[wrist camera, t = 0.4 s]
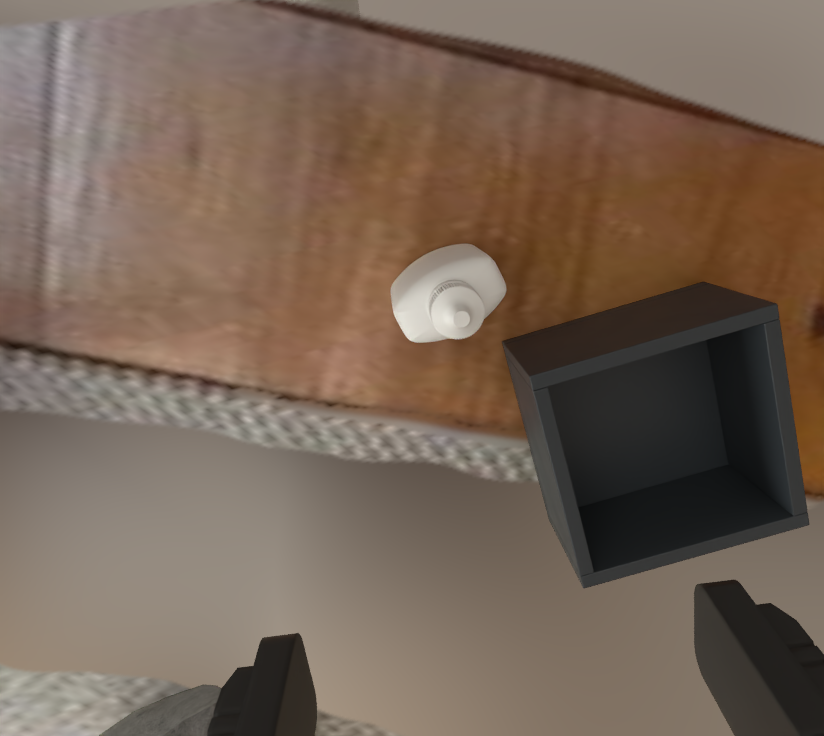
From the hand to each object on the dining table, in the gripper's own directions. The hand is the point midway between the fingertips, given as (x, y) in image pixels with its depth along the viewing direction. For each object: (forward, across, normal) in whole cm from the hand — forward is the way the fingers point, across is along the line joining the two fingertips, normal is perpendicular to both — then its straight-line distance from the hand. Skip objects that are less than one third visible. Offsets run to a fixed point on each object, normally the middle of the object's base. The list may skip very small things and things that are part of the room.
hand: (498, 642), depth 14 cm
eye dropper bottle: (+28, 0, -1) cm, 28 cm away
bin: (+28, -11, +8) cm, 31 cm away
